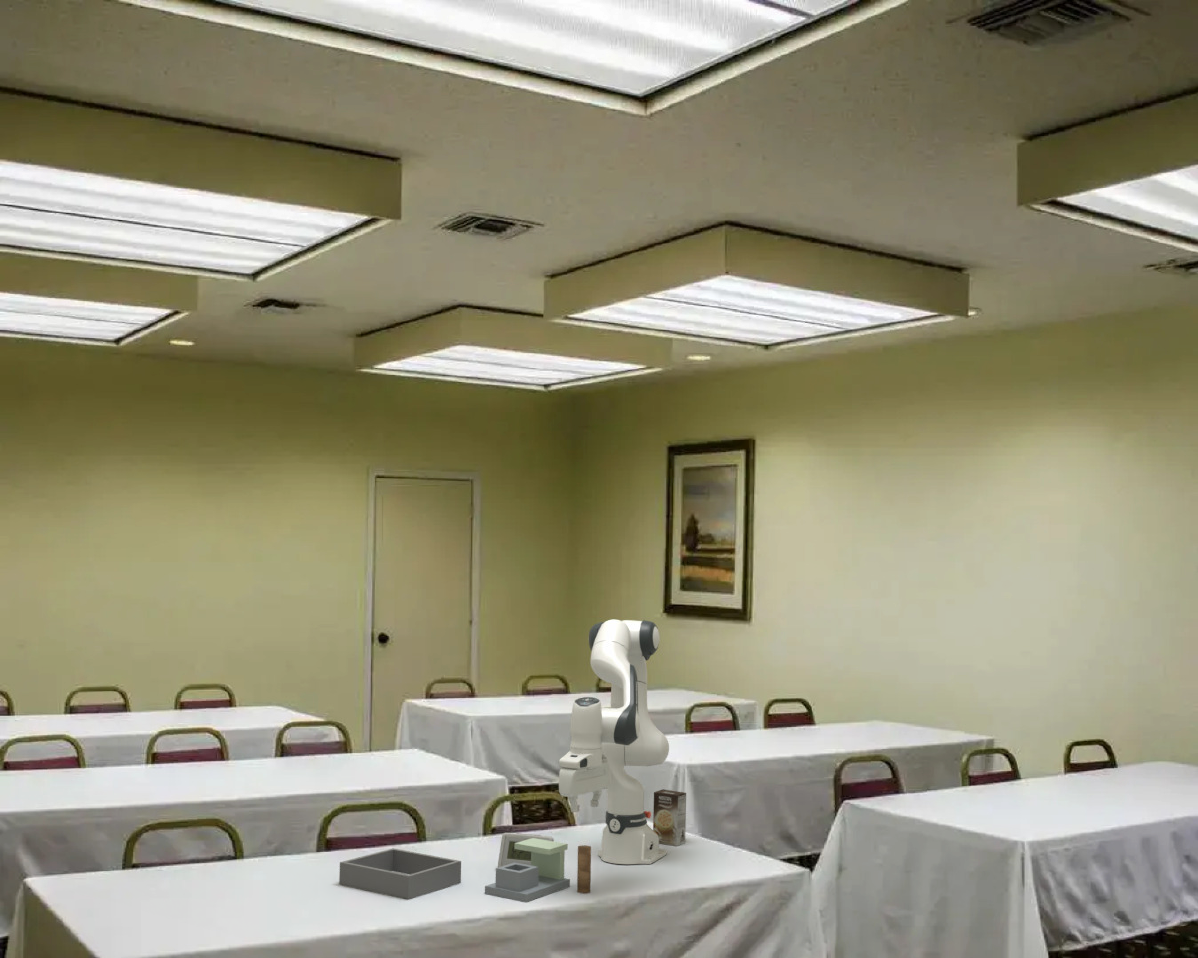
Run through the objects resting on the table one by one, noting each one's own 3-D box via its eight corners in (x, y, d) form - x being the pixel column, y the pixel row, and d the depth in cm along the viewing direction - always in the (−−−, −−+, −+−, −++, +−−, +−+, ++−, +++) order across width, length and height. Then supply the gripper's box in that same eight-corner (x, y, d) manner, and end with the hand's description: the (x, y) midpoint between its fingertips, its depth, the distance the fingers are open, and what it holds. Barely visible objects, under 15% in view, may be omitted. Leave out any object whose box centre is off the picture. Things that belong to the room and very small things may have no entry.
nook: (529, 878, 362) (530, 837, 363) (569, 886, 355) (570, 844, 355) (484, 893, 346) (485, 850, 347) (526, 901, 338) (527, 857, 339)
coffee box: (651, 842, 411) (652, 791, 412) (661, 838, 416) (662, 788, 417) (676, 846, 406) (677, 794, 407) (686, 842, 411) (687, 791, 412)
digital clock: (494, 872, 370) (494, 834, 370) (511, 865, 378) (512, 829, 378) (541, 879, 362) (542, 841, 362) (558, 873, 370) (559, 835, 370)
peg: (582, 889, 352) (582, 844, 353) (592, 891, 350) (593, 846, 351) (574, 891, 349) (575, 847, 350) (585, 893, 347) (586, 848, 348)
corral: (392, 869, 371) (393, 848, 371) (460, 882, 357) (461, 860, 357) (339, 884, 353) (339, 862, 353) (408, 899, 339) (409, 876, 339)
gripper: (597, 752, 362) (596, 802, 361) (555, 760, 345) (554, 813, 344) (616, 754, 359) (615, 805, 358) (574, 763, 342) (573, 816, 341)
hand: (585, 809), depth 351 cm, fingers open, 8 cm apart
